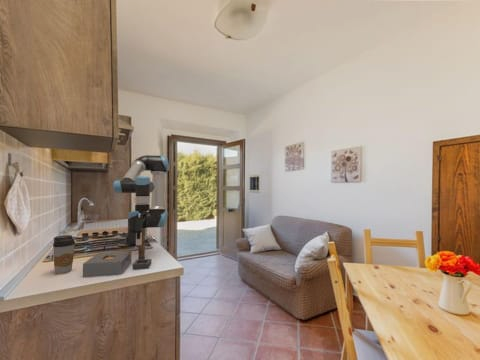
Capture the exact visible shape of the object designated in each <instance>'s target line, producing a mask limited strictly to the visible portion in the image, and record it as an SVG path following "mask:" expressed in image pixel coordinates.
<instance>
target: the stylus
mask: <svg viewBox="0 0 480 360" xmlns="http://www.w3.org/2000/svg"><path fill="white" fill-rule="evenodd" d="M141 232H142V245H138V249H137V250H138V253H137V254H138V256H137V257H138V259H137V260H139V259H146V258H145V256H146V255H145V252H146V251H145V248H146V243H145V228H142V230H141Z"/></svg>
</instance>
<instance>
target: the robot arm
mask: <svg viewBox="0 0 480 360" xmlns="http://www.w3.org/2000/svg"><path fill="white" fill-rule="evenodd" d="M130 165H131V166H130V168H129V169H128V170H127V172H126V173H125V175H124V176H123V177H122V178H121V180H120V179H119V180H115V181H113V184H112V189H113V192H114V193H117V194H135V195H134V196H135V197H134V200H135V202H134V203H135V204H134V210H133V211H129V212H128V214H127V234H126V236H125V239H124V244H125V245H127V244H136V245H135V246H139V245H142V232H141V230H142V228H145V242H146V243H148V242H147V241H149V238H148V228H151V229H152V228H163V227H165V226H166V225H167V219H168V214H169V213H168V211H167V210H166V207H164V201H165V197H164V196H165V176H166V175H167V172H169V171H170V165H169V159H168V157H167V156H166V155H147V154H145V155H142V156H139V157H136V159H135V160H133V161H132V162H131V164H130ZM145 171H150V174H151V175H152V180H151V177H149V176H141V173H143V172H145ZM150 195H151V196H150Z"/></svg>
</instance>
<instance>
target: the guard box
mask: <svg viewBox="0 0 480 360" xmlns="http://www.w3.org/2000/svg"><path fill="white" fill-rule="evenodd" d="M107 257H114V258H111V259H105V258H107ZM131 264H132V251H114V252H98V253H96V254H95V255H93V256H92V257H90V258H89V259H88V260H86V261H85V262H84V263H82V278H90V277H91V278H93V277H104V276H106V277H107V276H121V275H123V274H124V272H125V271H126V270H127V269H128V268H129V266H130V265H131Z"/></svg>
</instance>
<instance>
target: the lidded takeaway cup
mask: <svg viewBox="0 0 480 360" xmlns="http://www.w3.org/2000/svg"><path fill="white" fill-rule="evenodd" d="M64 238H73V234H72V235H71V234H68V235H67V234H65V235H57V236H55V237H53V242H54V241H55V240H58V239H64ZM52 250H53V251H52V260H53V261H54V249H52Z"/></svg>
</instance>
